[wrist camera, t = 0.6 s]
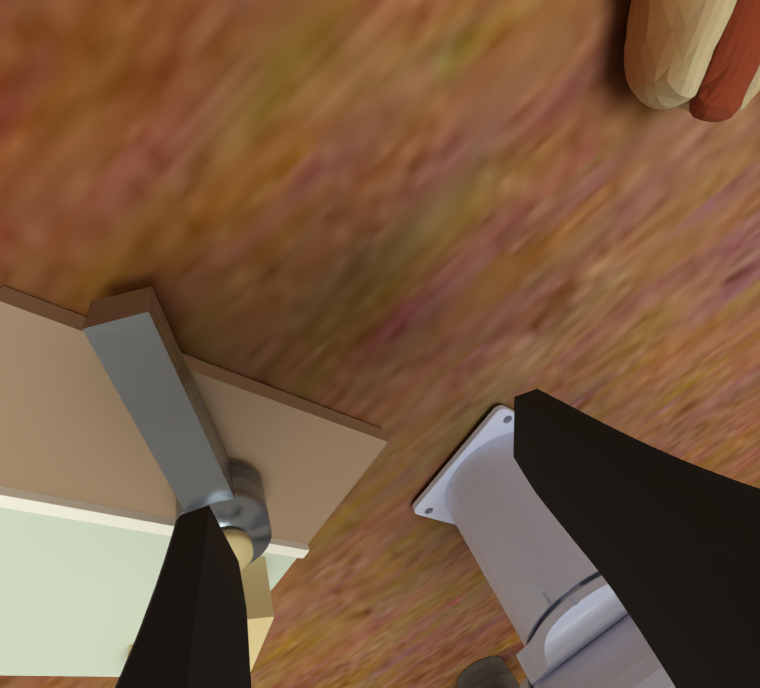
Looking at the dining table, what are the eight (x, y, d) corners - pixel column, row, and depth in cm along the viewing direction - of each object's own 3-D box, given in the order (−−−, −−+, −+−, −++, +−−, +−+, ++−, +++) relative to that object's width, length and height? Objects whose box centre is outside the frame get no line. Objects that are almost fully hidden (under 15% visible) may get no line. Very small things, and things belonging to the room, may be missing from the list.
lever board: (381, 428, 24) (417, 498, 20) (201, 659, 29) (204, 750, 25) (3, 285, 16) (-53, 361, 12) (-166, 648, 20) (-244, 784, 17)
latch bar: (272, 505, 23) (281, 553, 20) (192, 533, 22) (193, 585, 20) (180, 275, 16) (180, 310, 14) (62, 305, 15) (43, 346, 13)
